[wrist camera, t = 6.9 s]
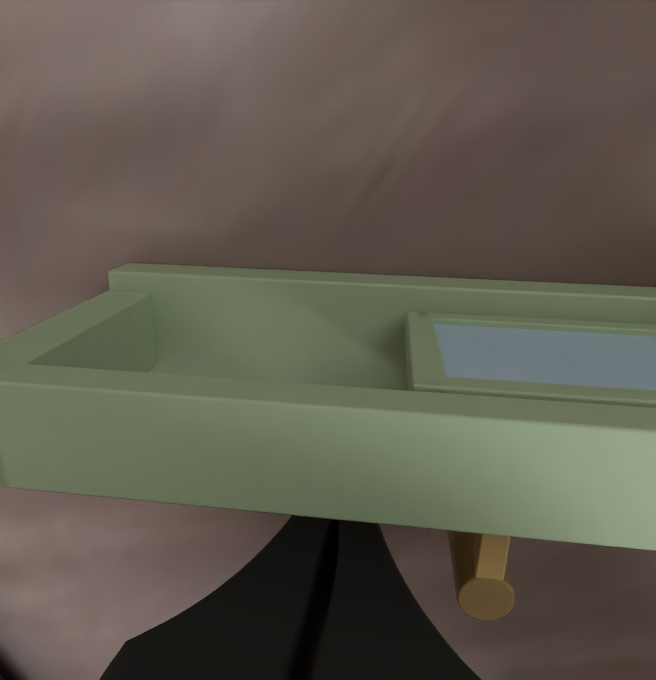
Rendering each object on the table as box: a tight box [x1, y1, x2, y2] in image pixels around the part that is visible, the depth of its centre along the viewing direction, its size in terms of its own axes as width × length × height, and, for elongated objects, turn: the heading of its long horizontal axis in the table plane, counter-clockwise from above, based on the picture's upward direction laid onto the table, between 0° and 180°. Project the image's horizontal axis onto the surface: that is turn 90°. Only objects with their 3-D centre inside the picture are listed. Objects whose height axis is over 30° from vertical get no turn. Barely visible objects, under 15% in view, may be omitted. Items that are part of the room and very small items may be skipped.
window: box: [447, 530, 515, 620], centre depth 11 cm, size 5×6×4 cm
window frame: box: [0, 263, 656, 551], centre depth 11 cm, size 3×17×7 cm, turn 89°
